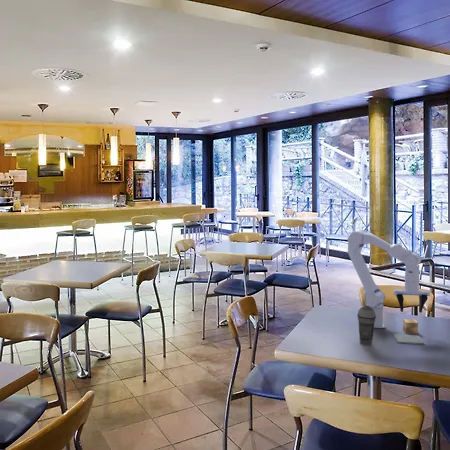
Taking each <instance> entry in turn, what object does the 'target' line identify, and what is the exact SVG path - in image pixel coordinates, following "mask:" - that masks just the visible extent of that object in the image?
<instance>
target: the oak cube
mask: <svg viewBox="0 0 450 450" xmlns="http://www.w3.org/2000/svg"><path fill="white" fill-rule="evenodd" d="M402 320H403V321H402V324H403V325H402V331H403V333H404V334H405V335H418V334H419V333H418V332H419V330H418V329H419V322H418V321H417V320H416V319H411V318H409V319H408V318H406V319H405V318H403V319H402Z"/></svg>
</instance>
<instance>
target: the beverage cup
mask: <svg viewBox="0 0 450 450" xmlns="http://www.w3.org/2000/svg"><path fill="white" fill-rule="evenodd" d="M363 295H364V294H363ZM362 306H363V307H362ZM362 306H361V307H360V308H359V309H358V310H357V311H358V312H357V321H358V333H359V336H358V337H359V344H360V345H361V346H364V347H370V346H372V345H373V337H374V332H375V331H374V329H375V328H374V322H375V319H376V314H375V311H374V309H373V308H372V307H370V306H367V304H366V295H364V305H362Z"/></svg>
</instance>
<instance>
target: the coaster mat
mask: <svg viewBox="0 0 450 450" xmlns="http://www.w3.org/2000/svg"><path fill="white" fill-rule="evenodd" d="M393 336H394V339H395V340H396V343H397V344H406V345H407V344H408V345H422V346H423V345H425V342H424V340H423V339H422V338H421V337H420V335H418V334H405V333H404V334H403V333H401V334H400V333H393Z"/></svg>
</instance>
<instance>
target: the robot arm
mask: <svg viewBox="0 0 450 450" xmlns="http://www.w3.org/2000/svg"><path fill="white" fill-rule="evenodd" d="M367 244H368V245H369V244H371V245H373V246H376V247H377V248H380V249H382V250H384V251H387V253H388V254H389V256H390V257H392V258H394V259H396V260H397V261H400V262H402V263H403V264H404V265H405V272H404V289H393V295H394V296H395V297H396V299H397V302H398V305H399V309H400V312H401V313H403V312H404V298H405V297H404V296H417V297H418V302H419V303H418V304H419V305H418V312H419V313H420V314H421V313H423V309H424V306H425V304H426V302H427V301H428V297H431V296H430V295H431V291H429V290H421V289H420V264H421V262H422V257H421V255H420V254H419V253H417V251H416V252H415V251H413V252H412V250H411V249H407V248H405V247H403V246H402V244H397V243H394V244H391V243H389V242H387V241H385V240H384V239H382V238H380V237H379V236H377V235H375V234H373V233H372V232H369V231H367V230H364V229H359V230H357V231H356V230H355V231H352V232H350V234H349V236H348V237H347V254H348V256H349V258H350V261H351V263H352V265H353V267H354V270H355V271H356V273H357V276H358V278H359V280H360V282H361V284H362V287H363V295H366V306H370V307H372V308H373V309H374V311H375V314H376V319H375V322H374V329H375V328H377V329H385V328H386V327H385V325H384V304H383V303H384V302H385V300H386V295H385V292H383V291H382V290H381V289H380V287H379V286H378V285H377V284H376V282H375V281H374V278H373V276H372V274H371V271H370V270H369V268H368V265H367V264H366V261H365V259H364V257H363V255H362V253H361V252H362V249H363V247H364V246H365V245H367ZM363 306H364V305H362V306H361V307H363Z"/></svg>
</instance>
